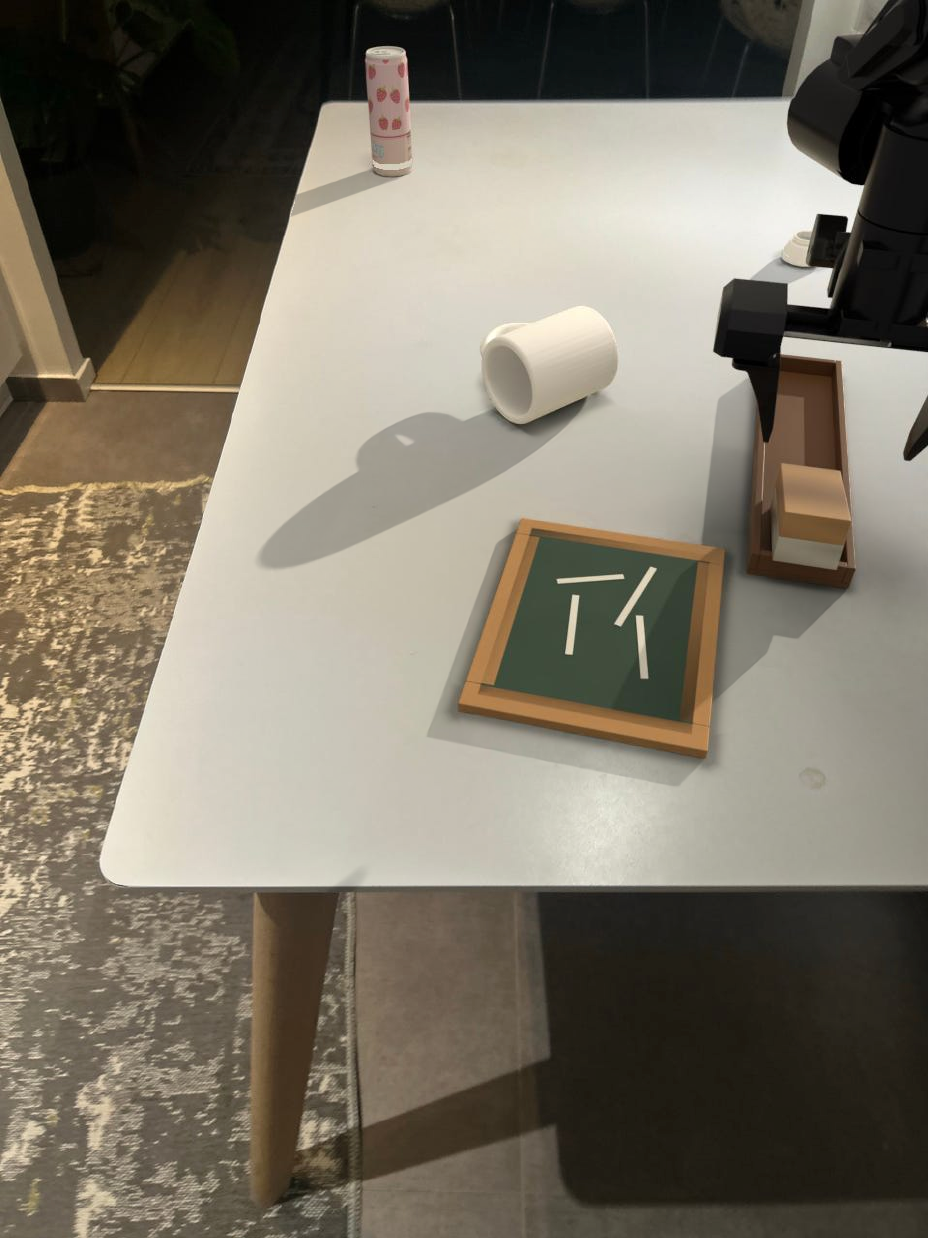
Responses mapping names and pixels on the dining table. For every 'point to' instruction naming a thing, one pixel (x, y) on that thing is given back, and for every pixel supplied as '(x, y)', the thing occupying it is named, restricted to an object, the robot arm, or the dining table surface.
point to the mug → (548, 363)
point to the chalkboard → (602, 637)
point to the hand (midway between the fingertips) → (835, 448)
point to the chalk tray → (801, 460)
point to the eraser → (809, 516)
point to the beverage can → (389, 108)
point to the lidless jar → (797, 249)
